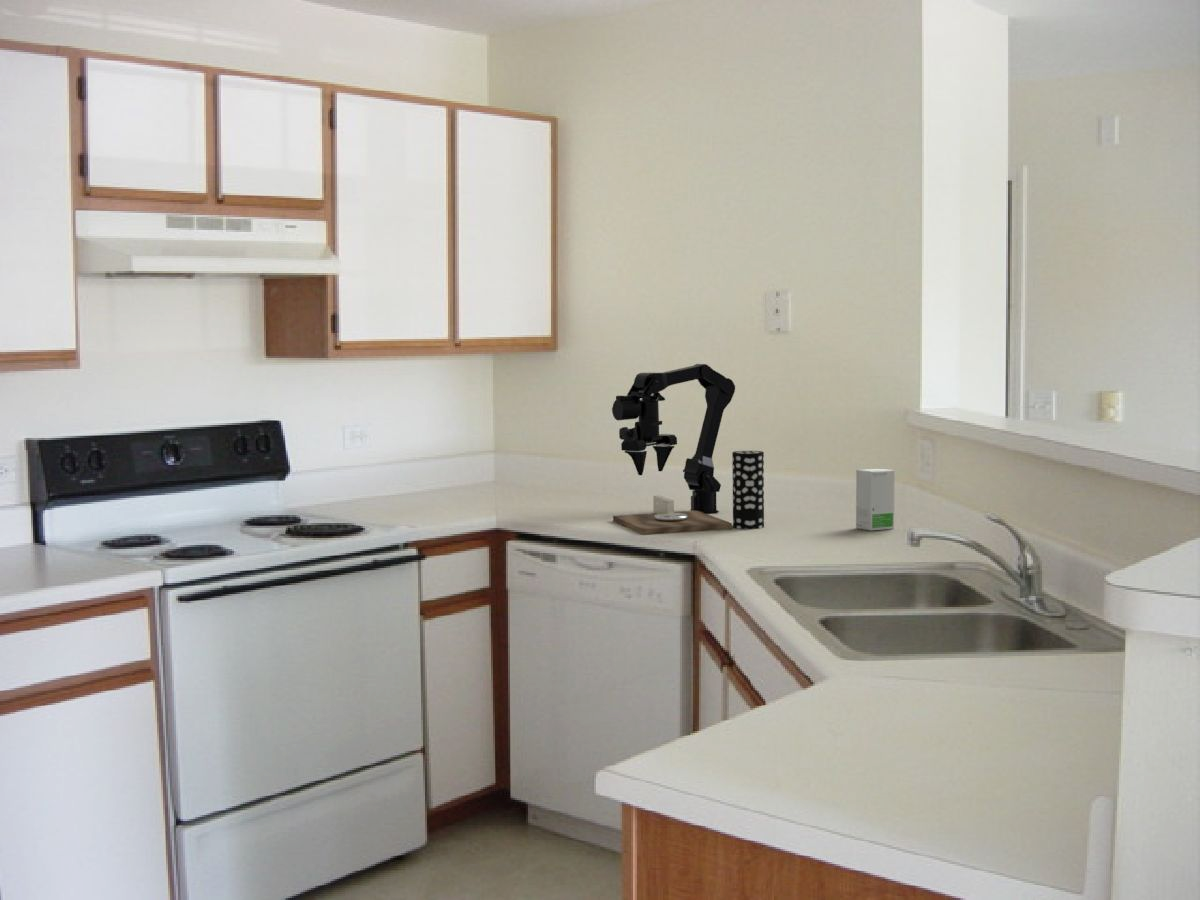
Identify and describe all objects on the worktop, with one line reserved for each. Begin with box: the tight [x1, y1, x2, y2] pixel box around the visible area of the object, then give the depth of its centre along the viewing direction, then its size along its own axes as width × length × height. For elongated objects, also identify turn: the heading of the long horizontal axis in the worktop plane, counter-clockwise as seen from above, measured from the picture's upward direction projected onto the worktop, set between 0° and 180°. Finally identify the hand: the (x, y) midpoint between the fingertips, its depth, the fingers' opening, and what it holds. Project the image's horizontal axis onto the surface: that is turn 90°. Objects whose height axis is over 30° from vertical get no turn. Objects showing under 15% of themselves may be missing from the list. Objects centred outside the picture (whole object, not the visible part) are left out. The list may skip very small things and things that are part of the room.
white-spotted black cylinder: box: [731, 450, 765, 530], centre depth 350 cm, size 8×8×20 cm
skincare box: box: [855, 468, 895, 532], centre depth 344 cm, size 8×7×16 cm
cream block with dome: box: [652, 495, 688, 521], centre depth 359 cm, size 16×9×5 cm, turn 17°
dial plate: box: [612, 510, 733, 536], centre depth 356 cm, size 25×25×2 cm
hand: (650, 473), depth 368 cm, fingers open, 9 cm apart
